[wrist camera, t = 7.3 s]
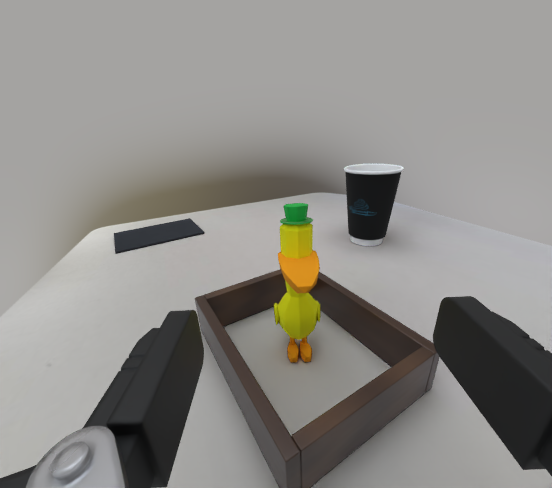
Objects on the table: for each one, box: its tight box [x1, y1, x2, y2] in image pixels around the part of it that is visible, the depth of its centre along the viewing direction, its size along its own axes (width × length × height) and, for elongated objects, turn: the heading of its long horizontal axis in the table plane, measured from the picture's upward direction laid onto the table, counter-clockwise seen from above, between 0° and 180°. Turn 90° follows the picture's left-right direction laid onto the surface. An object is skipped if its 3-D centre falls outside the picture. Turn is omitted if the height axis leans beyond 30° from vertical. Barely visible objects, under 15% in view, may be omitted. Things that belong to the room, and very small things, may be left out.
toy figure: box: [274, 203, 320, 362], centre depth 19 cm, size 7×4×12 cm, turn 2°
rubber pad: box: [114, 219, 204, 253], centre depth 48 cm, size 14×10×1 cm
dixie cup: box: [344, 164, 404, 246], centre depth 39 cm, size 8×8×11 cm
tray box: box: [195, 269, 440, 488], centre depth 20 cm, size 12×15×4 cm
